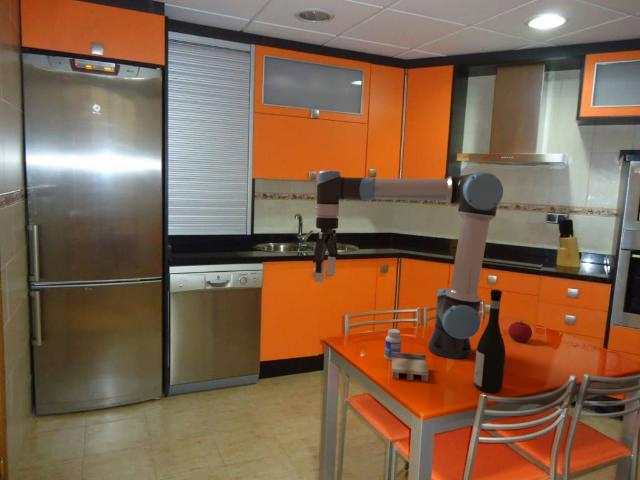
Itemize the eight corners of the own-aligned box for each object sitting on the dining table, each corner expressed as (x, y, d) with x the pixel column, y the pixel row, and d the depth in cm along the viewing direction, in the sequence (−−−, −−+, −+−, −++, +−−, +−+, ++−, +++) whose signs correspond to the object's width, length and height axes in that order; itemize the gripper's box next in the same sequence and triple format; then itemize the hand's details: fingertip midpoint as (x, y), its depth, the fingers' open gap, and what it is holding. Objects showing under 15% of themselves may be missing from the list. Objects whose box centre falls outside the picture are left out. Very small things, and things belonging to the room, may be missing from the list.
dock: (424, 367, 153) (425, 354, 153) (428, 381, 143) (429, 367, 142) (391, 364, 155) (392, 351, 154) (391, 378, 144) (392, 364, 143)
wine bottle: (472, 390, 138) (481, 291, 134) (474, 380, 145) (482, 286, 141) (502, 396, 135) (511, 294, 131) (501, 385, 142) (510, 289, 139)
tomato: (532, 340, 188) (534, 320, 187) (529, 345, 180) (531, 325, 179) (509, 335, 192) (511, 316, 191) (505, 341, 185) (507, 321, 184)
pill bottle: (382, 355, 164) (384, 328, 162) (397, 355, 164) (399, 328, 163) (386, 360, 158) (388, 333, 157) (401, 361, 159) (403, 333, 157)
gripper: (327, 214, 170) (325, 271, 173) (304, 218, 147) (302, 284, 149) (347, 215, 168) (345, 273, 170) (326, 219, 144) (324, 286, 147)
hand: (325, 278), depth 160 cm, fingers open, 13 cm apart
